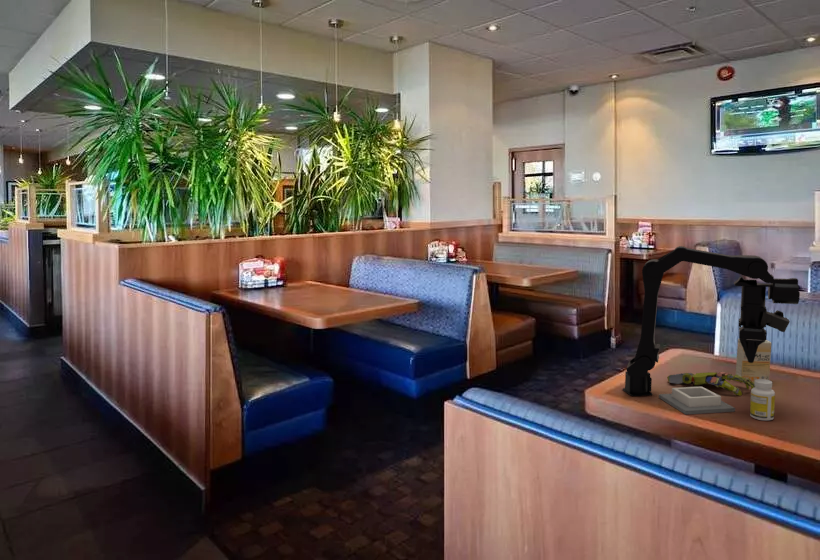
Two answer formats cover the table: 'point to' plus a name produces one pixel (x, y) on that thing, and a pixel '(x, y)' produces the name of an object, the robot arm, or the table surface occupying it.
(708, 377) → the robotic hand
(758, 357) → the supplement box
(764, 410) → the supplement bottle
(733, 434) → the table surface
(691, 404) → the socket holder
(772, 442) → the table surface
